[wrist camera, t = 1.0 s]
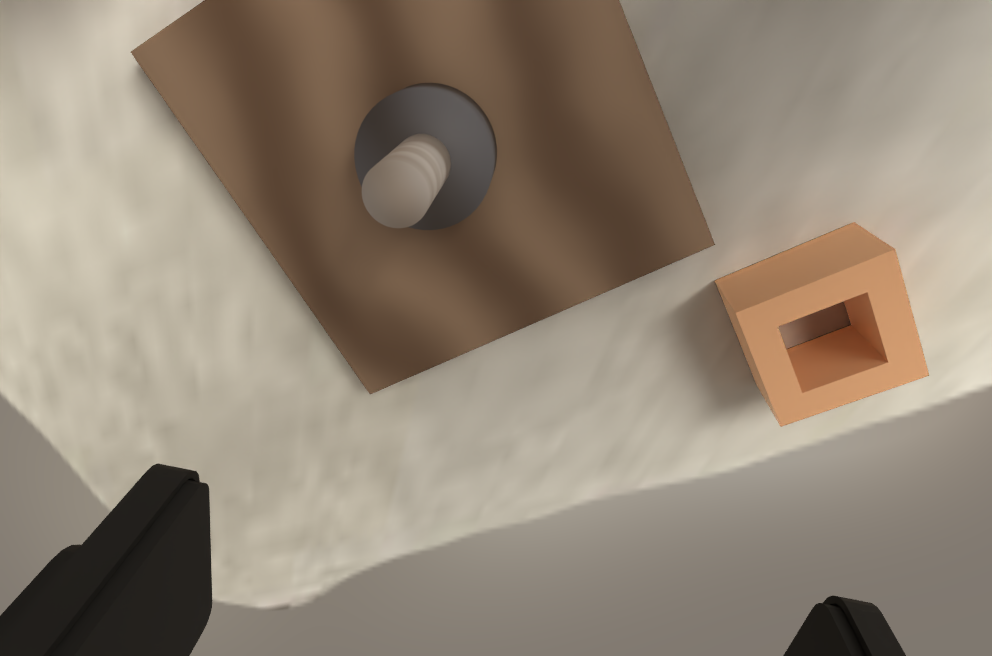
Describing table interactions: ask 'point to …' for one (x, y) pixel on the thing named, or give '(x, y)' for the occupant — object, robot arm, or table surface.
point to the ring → (840, 354)
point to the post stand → (433, 160)
